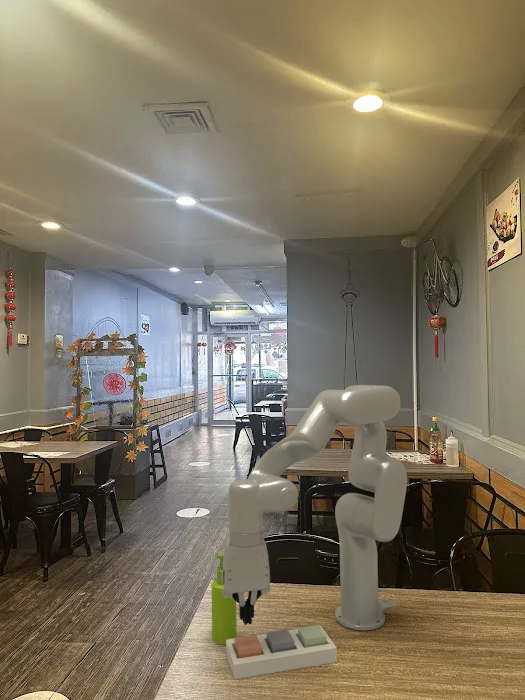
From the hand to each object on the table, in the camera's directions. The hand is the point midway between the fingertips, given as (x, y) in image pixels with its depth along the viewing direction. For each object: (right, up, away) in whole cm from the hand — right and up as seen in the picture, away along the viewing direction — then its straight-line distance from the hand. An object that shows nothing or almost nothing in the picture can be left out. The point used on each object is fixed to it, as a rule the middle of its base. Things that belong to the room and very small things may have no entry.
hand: (246, 621), depth 110 cm
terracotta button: (0, -7, 0) cm, 7 cm away
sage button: (+15, -6, +4) cm, 16 cm away
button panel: (+8, -9, +2) cm, 12 cm away
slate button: (+8, -6, +2) cm, 10 cm away
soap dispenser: (-5, -10, +10) cm, 15 cm away
